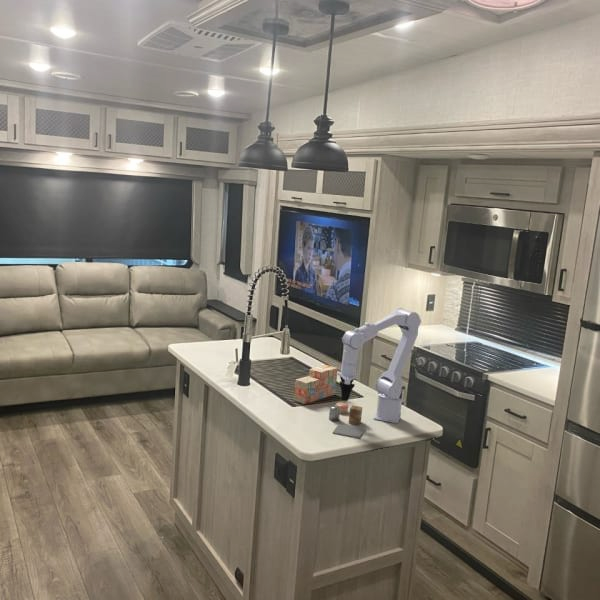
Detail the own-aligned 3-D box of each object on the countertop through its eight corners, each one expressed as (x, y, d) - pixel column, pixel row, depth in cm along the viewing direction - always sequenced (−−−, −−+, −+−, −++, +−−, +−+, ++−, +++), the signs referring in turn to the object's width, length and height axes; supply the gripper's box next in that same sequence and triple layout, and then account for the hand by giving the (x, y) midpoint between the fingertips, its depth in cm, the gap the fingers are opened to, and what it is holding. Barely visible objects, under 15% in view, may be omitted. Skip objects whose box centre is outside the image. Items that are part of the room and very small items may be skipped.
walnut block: (360, 421, 232) (362, 407, 231) (358, 425, 229) (360, 410, 228) (350, 420, 234) (352, 405, 233) (348, 423, 230) (350, 408, 229)
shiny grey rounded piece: (340, 418, 234) (341, 406, 233) (337, 422, 230) (339, 409, 229) (330, 417, 235) (331, 404, 234) (327, 420, 231) (328, 408, 230)
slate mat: (365, 429, 225) (365, 428, 225) (359, 438, 216) (359, 437, 215) (339, 424, 228) (339, 423, 228) (332, 433, 218) (332, 432, 218)
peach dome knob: (348, 410, 244) (349, 403, 243) (346, 414, 239) (346, 407, 239) (337, 408, 245) (337, 401, 245) (334, 412, 241) (334, 405, 240)
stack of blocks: (304, 404, 247) (307, 376, 245) (293, 400, 251) (295, 372, 249) (335, 394, 263) (338, 367, 261) (324, 390, 267) (326, 364, 265)
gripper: (339, 357, 233) (334, 390, 235) (338, 366, 219) (333, 401, 221) (357, 359, 233) (352, 393, 235) (357, 368, 218) (352, 404, 220)
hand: (344, 397), depth 228 cm, fingers open, 7 cm apart
